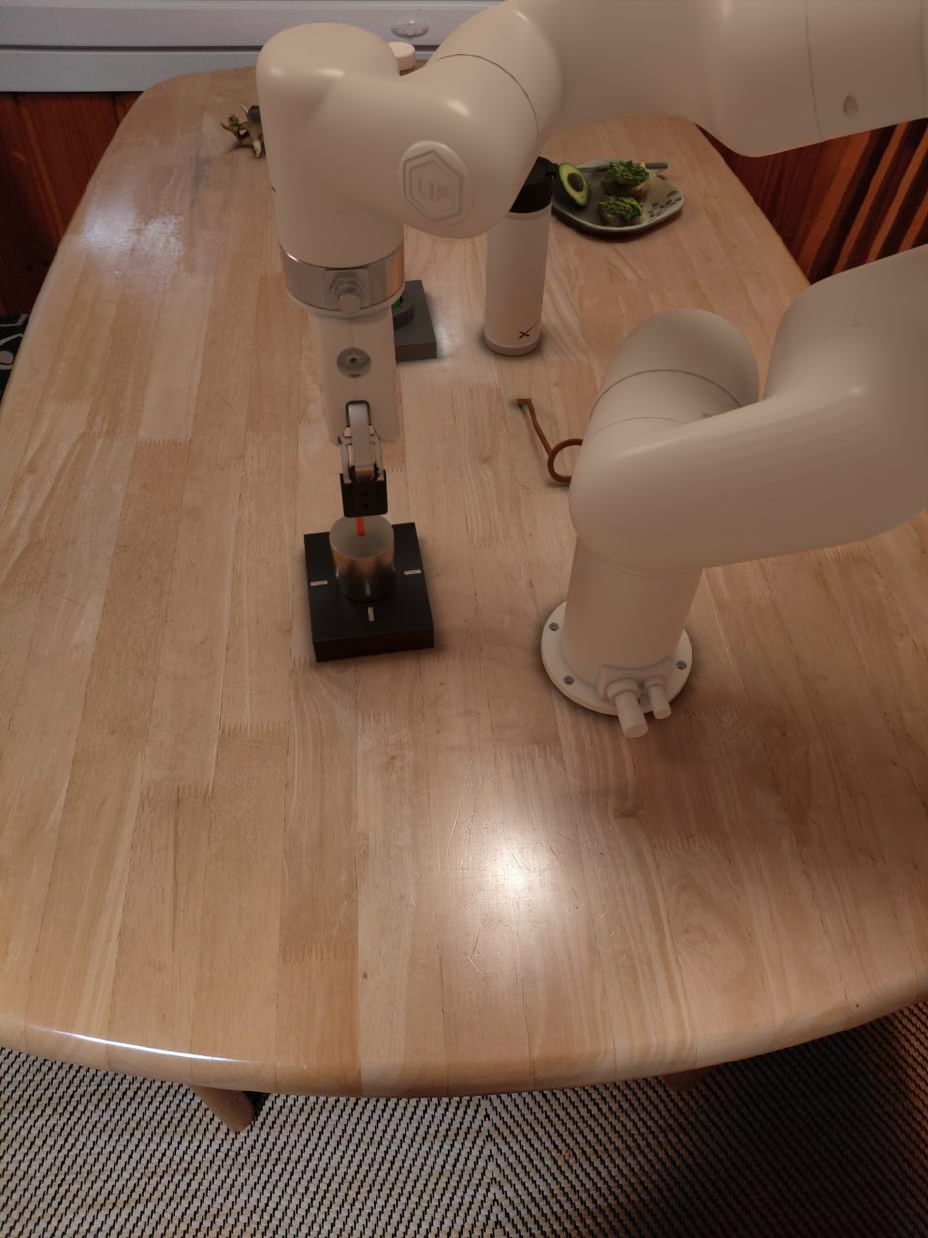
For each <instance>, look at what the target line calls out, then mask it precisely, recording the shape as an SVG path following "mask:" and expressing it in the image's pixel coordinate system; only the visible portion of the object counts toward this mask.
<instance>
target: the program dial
mask: <svg viewBox="0 0 928 1238" xmlns="http://www.w3.org/2000/svg"><path fill="white" fill-rule="evenodd" d="M391 525H392V524H391V522H390V521H389V520H388V519H386V517H384V516H383V515H376V516H365V517H354V518H346V517H345V516H344V515H343V516H342V517H340V518H339V519H337V520H336V521H335V522H334V523H333V525H332V526H331V528H330V530H329V532H330V534H329V540H330V546H331V553H332V560H333V566H334V573H335V580H336V585H337V587H338V589H339V591H340V592H341V593H342V594H343V595H344V596H346V597H347V598H349V599H352V600H355V601H360V602H369V601H374V600H378V599H380V598H382V597H384V596H386V595H387V594H388V593H389V592H390V591H391V590H392V589H393V587H394V586H395V583H396V578H397V576H396V561H395V546H394V532H393V528H392V526H391Z"/></svg>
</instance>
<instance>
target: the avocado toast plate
mask: <svg viewBox="0 0 928 1238" xmlns="http://www.w3.org/2000/svg"><path fill="white" fill-rule="evenodd" d="M668 167H669V164H668V163H667V162H666V161H665V162H664V161H657V162H656V161H654V162H646V161H644V160H641V162H638V163H637V162H636V163H634V161H633V160H632V159H629V160H624V159H618V158H608V157H605V158H597V159H594V160H591V161H588V162H585V163H583V164H581V165H578V166H575V165H574V164H572V163H571V162H566V161H565V162H562V163H560V164H558V170H559V173H558V176H557V178H556V179H554V175H553V190H552V205H551V214H553V215H554V216H555V217H556V218H558V219H559V220H560V221H561V222H563V223H564V224H565V225H567V226H568V227H570V228H571V229H573V230H575V231H577V232H579V233H581V234H583V235H586V236H589V237H592V238H596V239H599V240H609V241H610V240H619V239H620V240H621V239H624V238H628V237H631V236H634V235H638V234H640V233H643V232H644V231H646V230H648V229H650V228H651V227H653V226H656V225H657V224H660V223H661V222H664V221H665V220H667V219H668V218H670V217H671V216H672V215H674V214H676V213H678V212H679V211H680V210H681V209H682V208H683V206H684V204H685V200H684V199H685V198H684V194H683V192H682V190H680V189H679V188H678V187H676V186H675V185H673V184H671V183H669V182H668V181H665V180H663V179H662V178H660V177H658V176H657V175H658V174H660V173H661V172H664V171H666V170H668Z"/></svg>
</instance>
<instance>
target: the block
mask: <svg viewBox="0 0 928 1238" xmlns="http://www.w3.org/2000/svg"><path fill="white" fill-rule="evenodd" d="M391 310H392V319H393V331H394V344H395V362H396V363H398V362H407V361H408V362H409V361H417V360H418V361H420V360H430V359H437V358H438V356H437V355H438V353H437V352H438V351H437V350H438V349H437V344H438V343H437V338H436V334H435V329H434V325H433V322H432V318H431V313H430V309H429V304H428V301H427V297H426V292H425V289H424V284H423V280H422V279H412V280H405V288H404V290H403V293H402V295H401V296H400V304H399V306H398V307H396V308H394V309H391Z"/></svg>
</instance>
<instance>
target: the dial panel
mask: <svg viewBox="0 0 928 1238" xmlns="http://www.w3.org/2000/svg"><path fill="white" fill-rule="evenodd" d="M391 526H392V528H393V532H394V546H395V561H396V576H397V578H396V583H395V586H394V587H393V589H392V590H391V591H390V592H389V593H388V594H387V595H386V596H384V597H382V598H380V599H378V600H374V601H369V602H360V601H355V600H352V599H349V598H347V597H346V596H344V595H343V594H342V593H341V592H340V591H339V589H338V587H337V585H336V580H335V573H334V566H333V560H332V553H331V546H330V540H329V534H330V531H322V532H313V533H312V532H311V533H305V534H303V547H304V559H305V570H306V571H305V572H306V582H307V594H308V605H309V606H308V607H309V617H310V619H309V620H310V630H311V631H310V632H311V640H312V645H313V646H312V647H313V652H314V658H315V662H316V663H324V662H332V661H339V660H347V659H355V658H363V657H371V656H380V655H388V654H396V653H402V652H410V651H411V652H412V651H417V650H418V651H420V650H426V649H427V650H428V649H434V648H435V624H434V618H433V611H432V607H431V602H430V597H429V592H428V586H427V580H426V575H425V569H424V565H423V559H422V553H421V547H420V542H419V538H418V537H419V536H418V532H417V527H416V522H415V521H412V522H411V521H410V522H403V523H401V522H400V523H393V524H391Z"/></svg>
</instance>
